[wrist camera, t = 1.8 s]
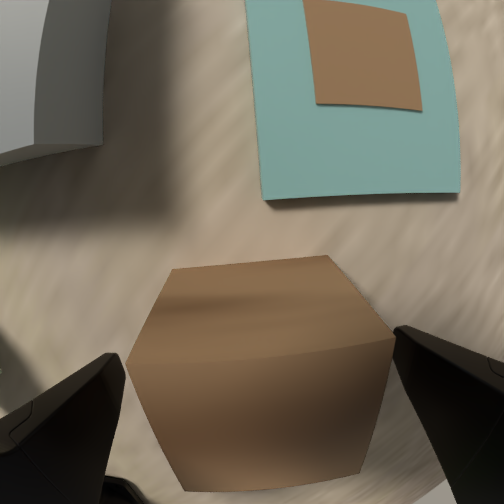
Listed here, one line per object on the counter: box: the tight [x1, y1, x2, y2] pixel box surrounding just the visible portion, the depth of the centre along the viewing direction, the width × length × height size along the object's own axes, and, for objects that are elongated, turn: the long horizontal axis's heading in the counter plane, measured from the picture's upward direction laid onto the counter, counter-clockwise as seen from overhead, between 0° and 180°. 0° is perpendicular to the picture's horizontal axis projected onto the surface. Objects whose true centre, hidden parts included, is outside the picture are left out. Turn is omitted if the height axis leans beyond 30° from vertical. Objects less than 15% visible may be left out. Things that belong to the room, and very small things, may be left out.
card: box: [245, 0, 460, 200], centre depth 8 cm, size 9×7×1 cm
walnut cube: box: [125, 255, 396, 492], centre depth 8 cm, size 5×5×5 cm
